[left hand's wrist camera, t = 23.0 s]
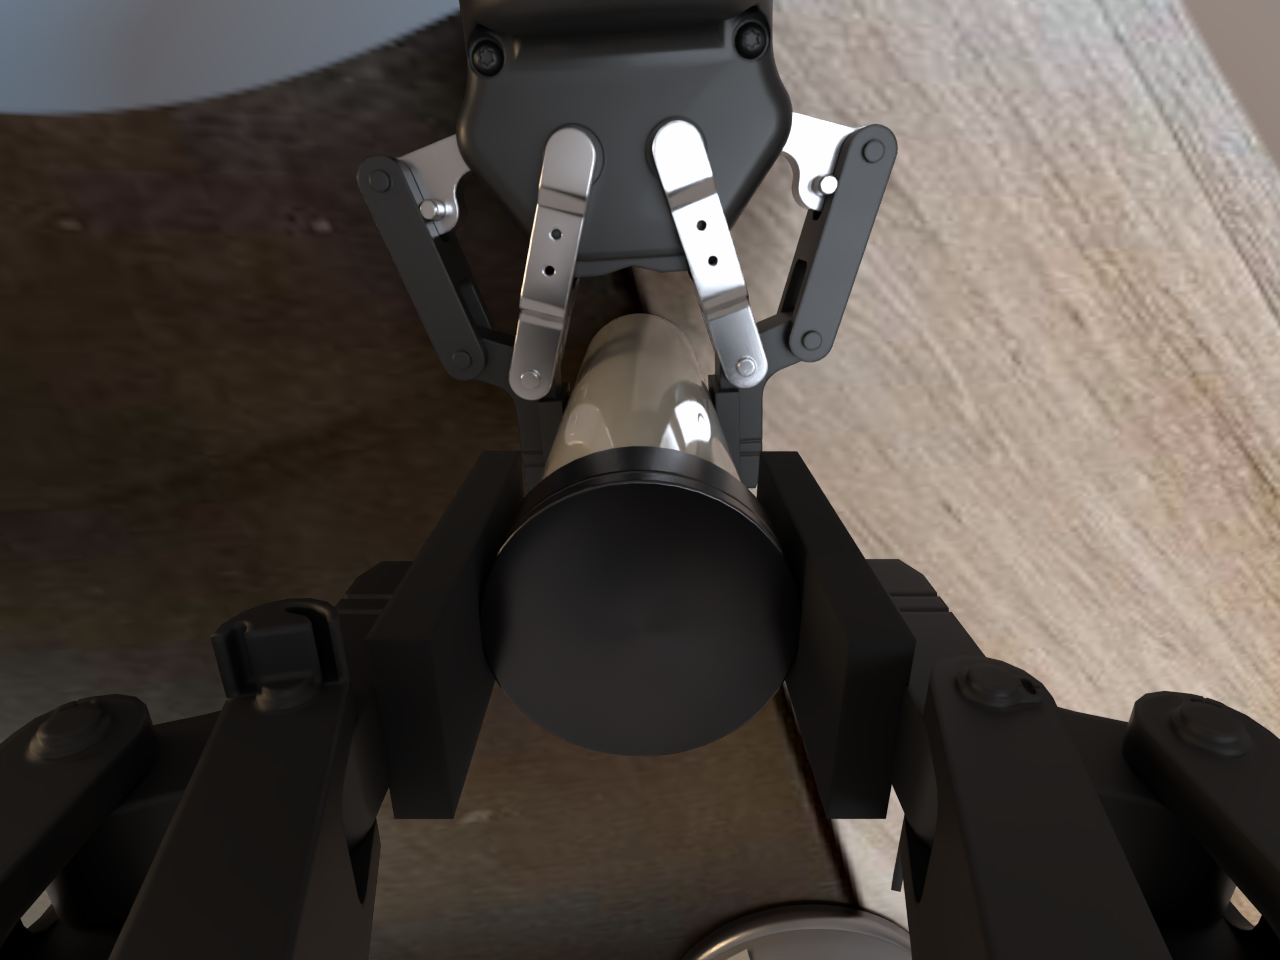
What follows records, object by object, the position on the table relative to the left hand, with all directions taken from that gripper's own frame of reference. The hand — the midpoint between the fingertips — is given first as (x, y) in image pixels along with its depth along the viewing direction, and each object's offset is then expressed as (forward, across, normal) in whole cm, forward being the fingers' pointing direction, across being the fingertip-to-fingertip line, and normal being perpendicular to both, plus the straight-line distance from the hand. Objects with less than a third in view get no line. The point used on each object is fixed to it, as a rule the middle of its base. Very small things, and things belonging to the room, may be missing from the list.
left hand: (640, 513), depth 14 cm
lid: (-4, 0, 0) cm, 4 cm away
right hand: (+7, 0, -3) cm, 8 cm away
